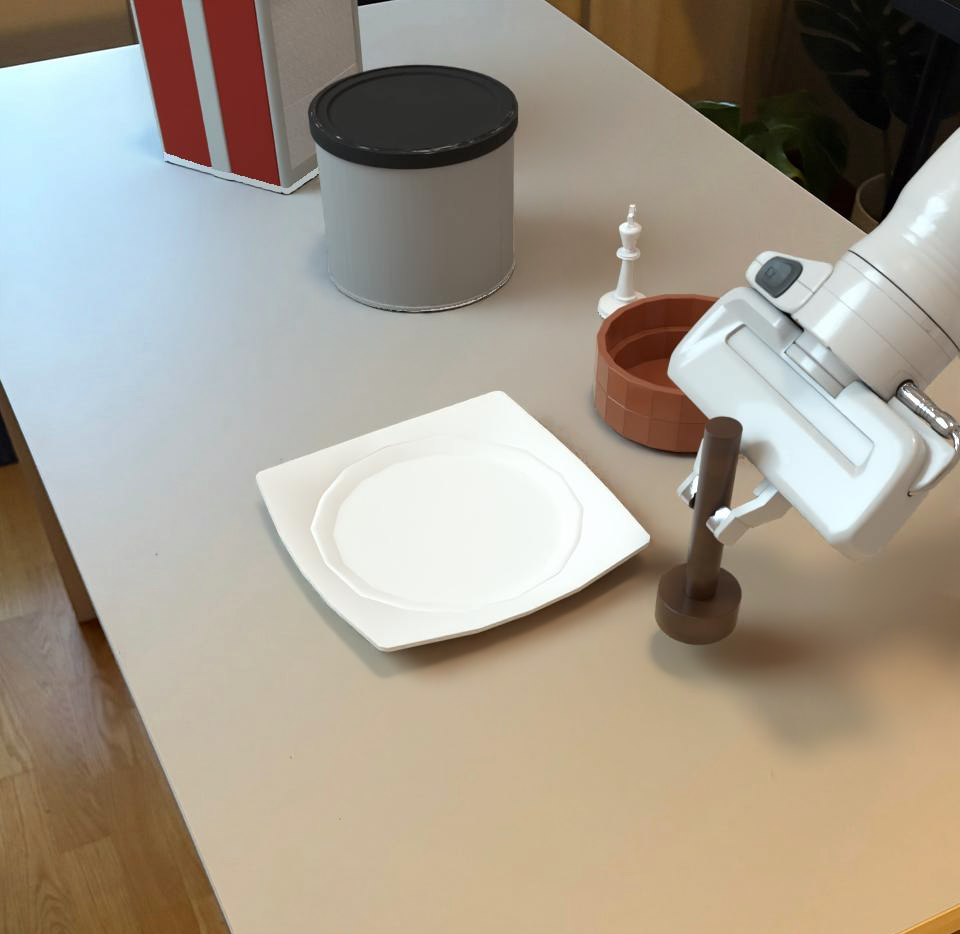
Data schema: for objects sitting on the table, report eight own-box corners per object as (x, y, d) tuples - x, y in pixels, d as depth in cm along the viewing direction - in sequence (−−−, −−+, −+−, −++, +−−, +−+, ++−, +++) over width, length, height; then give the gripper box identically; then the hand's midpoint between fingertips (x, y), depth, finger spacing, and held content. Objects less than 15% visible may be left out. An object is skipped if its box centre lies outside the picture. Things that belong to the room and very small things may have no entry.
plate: (671, 570, 91) (675, 543, 89) (377, 693, 83) (374, 666, 81) (505, 405, 105) (505, 378, 103) (240, 498, 97) (234, 470, 95)
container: (370, 205, 128) (357, 52, 117) (541, 232, 124) (545, 76, 112) (294, 295, 117) (272, 135, 105) (479, 328, 112) (477, 165, 101)
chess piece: (591, 319, 113) (598, 215, 106) (604, 293, 116) (611, 189, 109) (643, 327, 112) (654, 222, 104) (655, 300, 115) (665, 196, 108)
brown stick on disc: (751, 609, 84) (789, 419, 72) (711, 657, 81) (743, 468, 69) (680, 577, 86) (705, 388, 74) (639, 623, 83) (658, 434, 71)
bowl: (800, 391, 105) (813, 329, 101) (714, 480, 97) (724, 417, 93) (651, 337, 111) (657, 275, 107) (559, 416, 103) (561, 354, 99)
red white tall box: (287, 197, 130) (247, -100, 109) (159, 161, 136) (97, -127, 115) (373, 136, 139) (350, -148, 118) (249, 105, 145) (206, -171, 124)
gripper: (1001, 462, 67) (819, 640, 73) (795, 288, 80) (652, 451, 85) (957, 415, 63) (766, 608, 68) (746, 238, 75) (598, 413, 80)
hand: (701, 519), depth 77 cm, fingers closed on brown stick on disc, 2 cm apart
